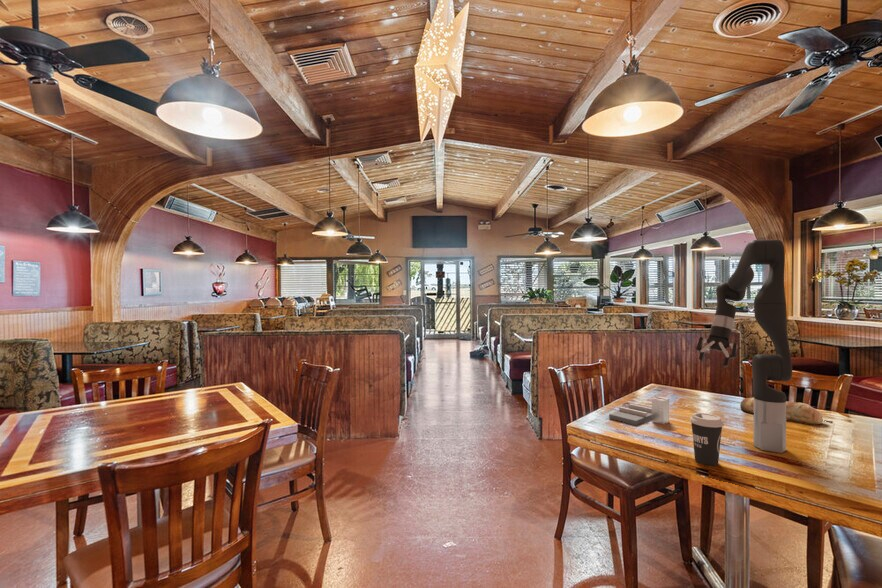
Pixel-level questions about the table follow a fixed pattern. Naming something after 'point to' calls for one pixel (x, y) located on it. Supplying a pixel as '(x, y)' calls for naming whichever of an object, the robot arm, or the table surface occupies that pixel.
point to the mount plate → (633, 414)
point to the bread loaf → (791, 411)
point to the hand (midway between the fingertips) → (712, 364)
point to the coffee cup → (706, 437)
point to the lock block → (660, 410)
